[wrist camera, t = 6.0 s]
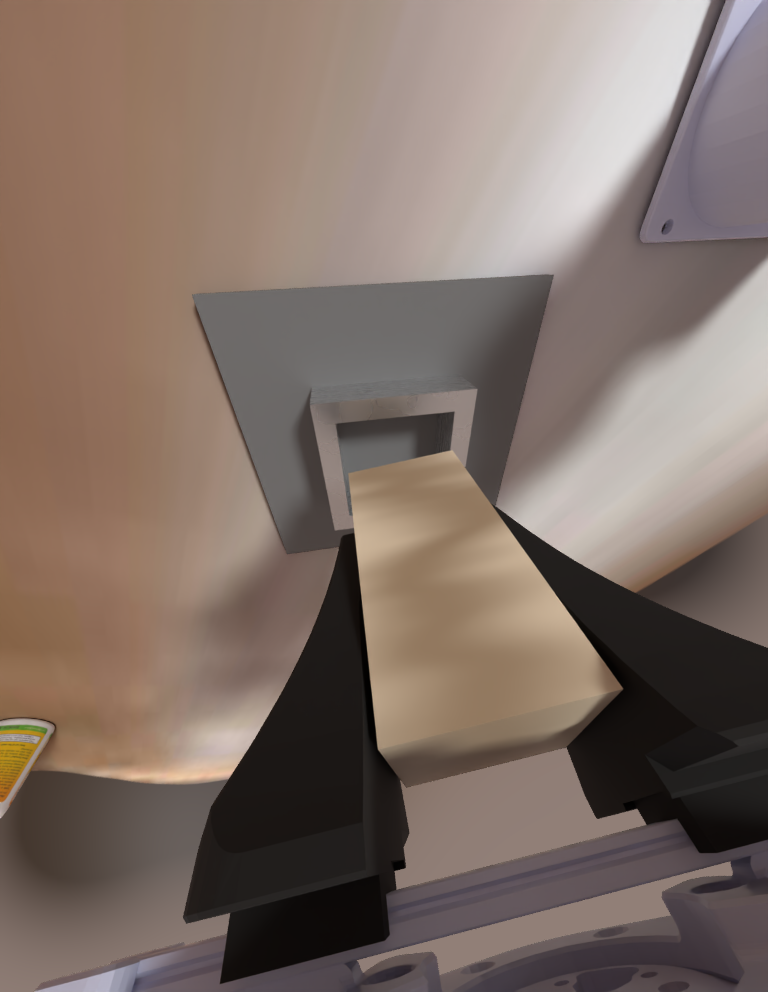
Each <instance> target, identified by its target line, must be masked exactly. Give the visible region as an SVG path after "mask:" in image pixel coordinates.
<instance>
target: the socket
mask: <svg viewBox="0 0 768 992" xmlns="http://www.w3.org/2000/svg"><path fill="white" fill-rule="evenodd" d="M476 396H477V388H476V387H474V386H473V385H472V384H471V383H469V382H468V381H467V380H465V379H464V378H463V377H461V376H460V375H459V374H458V375H446V376H435V377H424V378H412V379H401V380H390V381H378V382H367V383H356V384H344V385H333V386H322V387H312V391H311V398H310V409H311V414H312V419H313V424H314V429H315V434H316V439H317V444H318V449H319V454H320V459H321V464H322V469H323V474H324V479H325V484H326V489H327V494H328V499H329V504H330V509H331V514H332V519H333V524H334V529H335V530H343V529H350V528H354V522H353V513H352V503H351V494H350V491H347V487H346V480H345V473H344V467H343V460H342V453H341V446H340V439H339V433H338V426H337V423H346V422H356V421H366V420H376V419H386V418H395V417H405V416H415V415H425V414H435V413H438V417H437V430H436V443H435V454H437V453H442V452H446V451H451V450H453V452H454V453H455V455H456V456H457V457H458V459H459V460H460V461H461V463H462V464H463V466H464V467H466V460H467V454H468V447H469V441H470V434H471V428H472V422H473V415H474V409H475V402H476Z"/></svg>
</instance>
